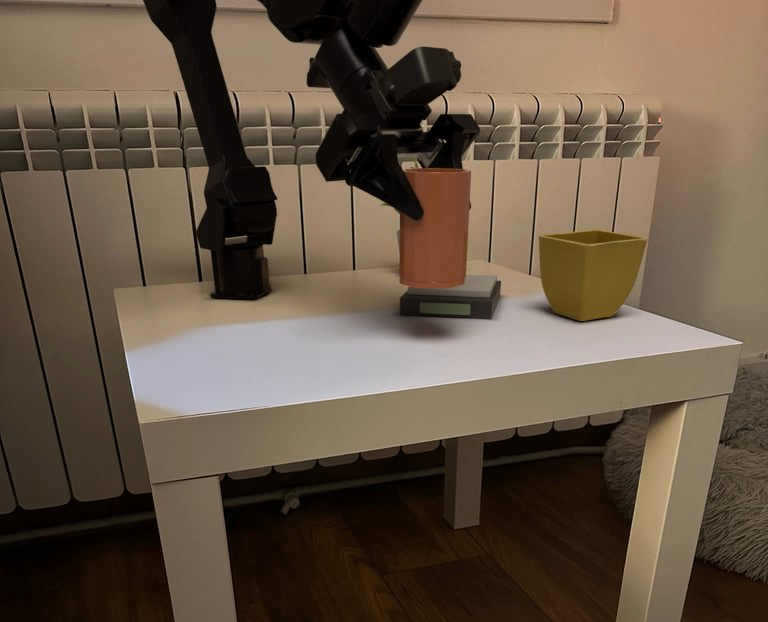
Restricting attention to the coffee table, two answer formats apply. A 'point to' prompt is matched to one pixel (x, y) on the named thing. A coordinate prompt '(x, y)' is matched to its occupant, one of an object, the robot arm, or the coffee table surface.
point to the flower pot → (589, 271)
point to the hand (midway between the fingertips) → (444, 214)
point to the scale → (454, 299)
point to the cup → (436, 229)
